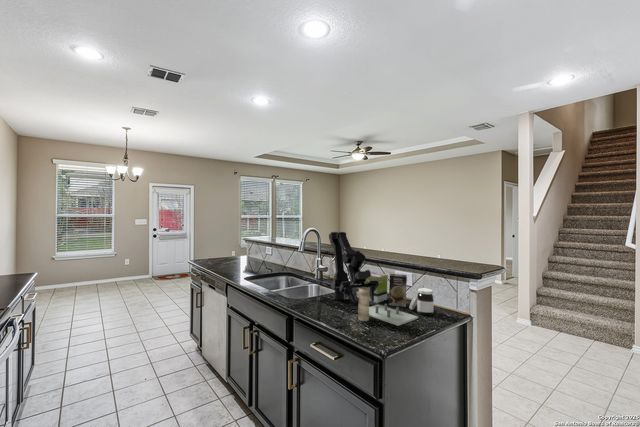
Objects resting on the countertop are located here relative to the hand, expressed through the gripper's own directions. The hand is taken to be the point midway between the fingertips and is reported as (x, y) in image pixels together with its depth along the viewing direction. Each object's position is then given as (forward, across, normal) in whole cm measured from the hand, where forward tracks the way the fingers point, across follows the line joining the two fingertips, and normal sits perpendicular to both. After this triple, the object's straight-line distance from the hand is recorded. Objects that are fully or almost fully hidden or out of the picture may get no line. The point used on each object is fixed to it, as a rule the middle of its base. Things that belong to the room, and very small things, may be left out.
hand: (364, 302), depth 143 cm
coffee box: (-7, +28, +18) cm, 34 cm away
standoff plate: (+3, +14, +8) cm, 16 cm away
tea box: (-16, +19, +28) cm, 37 cm away
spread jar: (+3, +33, +9) cm, 34 cm away
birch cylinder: (+6, 0, +6) cm, 8 cm away
